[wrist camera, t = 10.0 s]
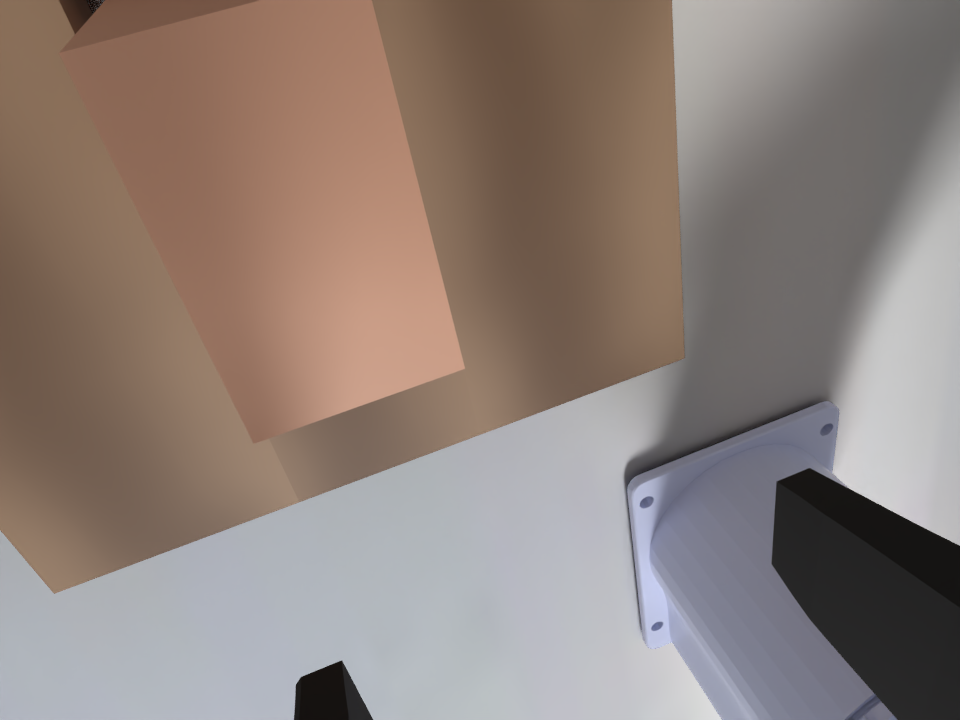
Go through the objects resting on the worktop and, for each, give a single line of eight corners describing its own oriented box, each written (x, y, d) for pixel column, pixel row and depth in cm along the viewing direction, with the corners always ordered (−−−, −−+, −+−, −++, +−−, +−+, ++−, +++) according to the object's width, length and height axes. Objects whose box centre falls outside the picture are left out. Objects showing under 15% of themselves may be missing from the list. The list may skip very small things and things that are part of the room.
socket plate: (572, -511, 12) (649, -594, 10) (637, 314, 21) (684, 358, 19) (-568, -326, 9) (-775, -387, 7) (68, 518, 19) (53, 593, 17)
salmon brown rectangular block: (285, -63, 14) (364, -28, 7) (360, 186, 17) (464, 368, 10) (124, -22, 13) (58, 53, 7) (230, 226, 16) (253, 443, 10)
